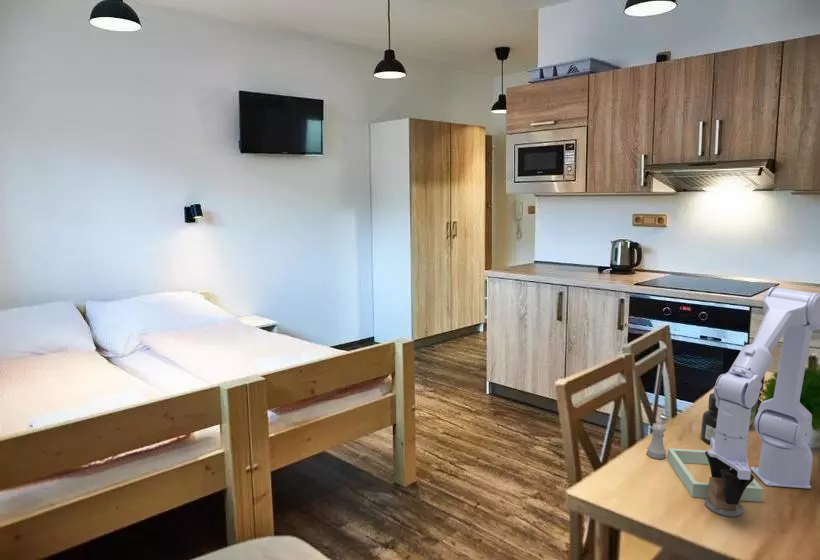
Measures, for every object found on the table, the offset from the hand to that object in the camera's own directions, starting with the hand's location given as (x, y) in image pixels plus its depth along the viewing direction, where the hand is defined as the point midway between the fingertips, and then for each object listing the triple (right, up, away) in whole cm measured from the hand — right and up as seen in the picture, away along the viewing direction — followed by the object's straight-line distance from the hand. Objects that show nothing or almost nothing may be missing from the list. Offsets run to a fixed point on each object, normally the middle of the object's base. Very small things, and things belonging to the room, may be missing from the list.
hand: (725, 494), depth 119 cm
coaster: (0, -3, +1) cm, 3 cm away
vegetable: (+27, +3, +42) cm, 50 cm away
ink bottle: (+16, +2, +32) cm, 36 cm away
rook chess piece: (-4, +1, +23) cm, 24 cm away
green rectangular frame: (+3, -1, +12) cm, 13 cm away
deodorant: (+34, +5, +51) cm, 61 cm away
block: (0, -2, +1) cm, 2 cm away
